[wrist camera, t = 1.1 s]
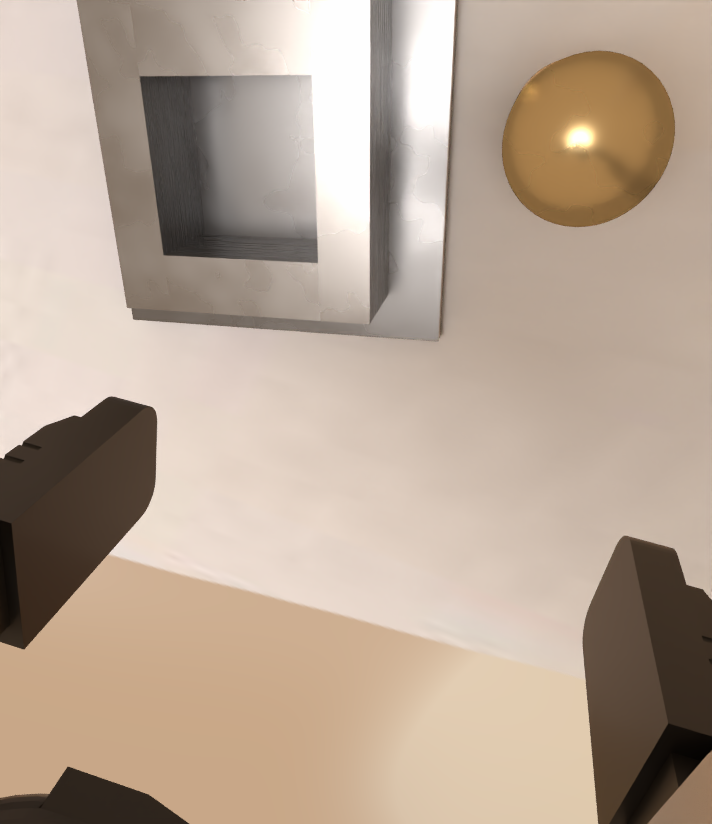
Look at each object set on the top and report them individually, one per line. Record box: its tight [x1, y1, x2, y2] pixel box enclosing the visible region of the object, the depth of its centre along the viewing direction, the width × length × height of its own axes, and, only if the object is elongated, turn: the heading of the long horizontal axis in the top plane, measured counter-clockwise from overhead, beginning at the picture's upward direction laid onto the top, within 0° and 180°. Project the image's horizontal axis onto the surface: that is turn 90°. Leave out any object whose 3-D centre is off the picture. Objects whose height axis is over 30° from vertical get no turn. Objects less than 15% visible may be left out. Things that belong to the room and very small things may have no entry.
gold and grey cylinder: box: [502, 51, 675, 227], centre depth 22 cm, size 4×4×9 cm
